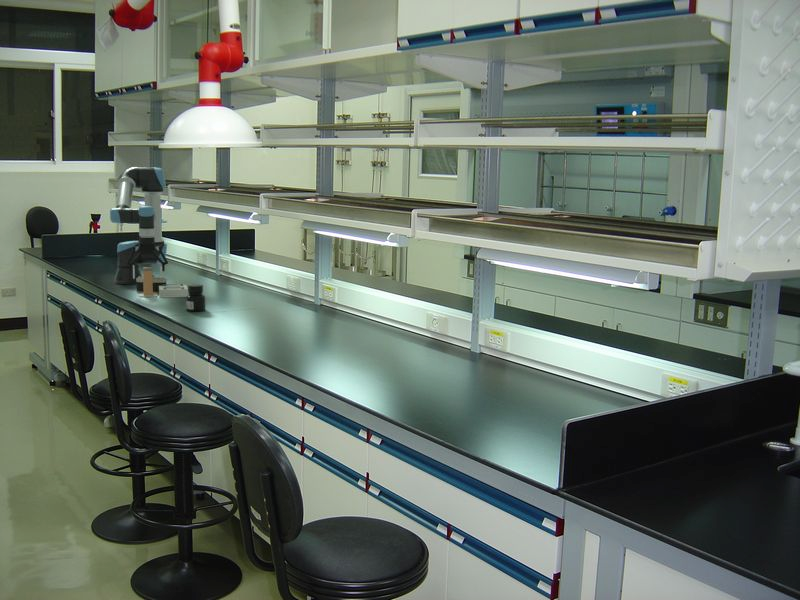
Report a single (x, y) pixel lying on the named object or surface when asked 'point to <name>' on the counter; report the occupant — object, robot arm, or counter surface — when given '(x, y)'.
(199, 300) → the ink bottle
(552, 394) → the counter surface
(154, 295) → the mat
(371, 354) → the counter surface
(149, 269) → the plug
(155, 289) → the camera
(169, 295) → the frame
